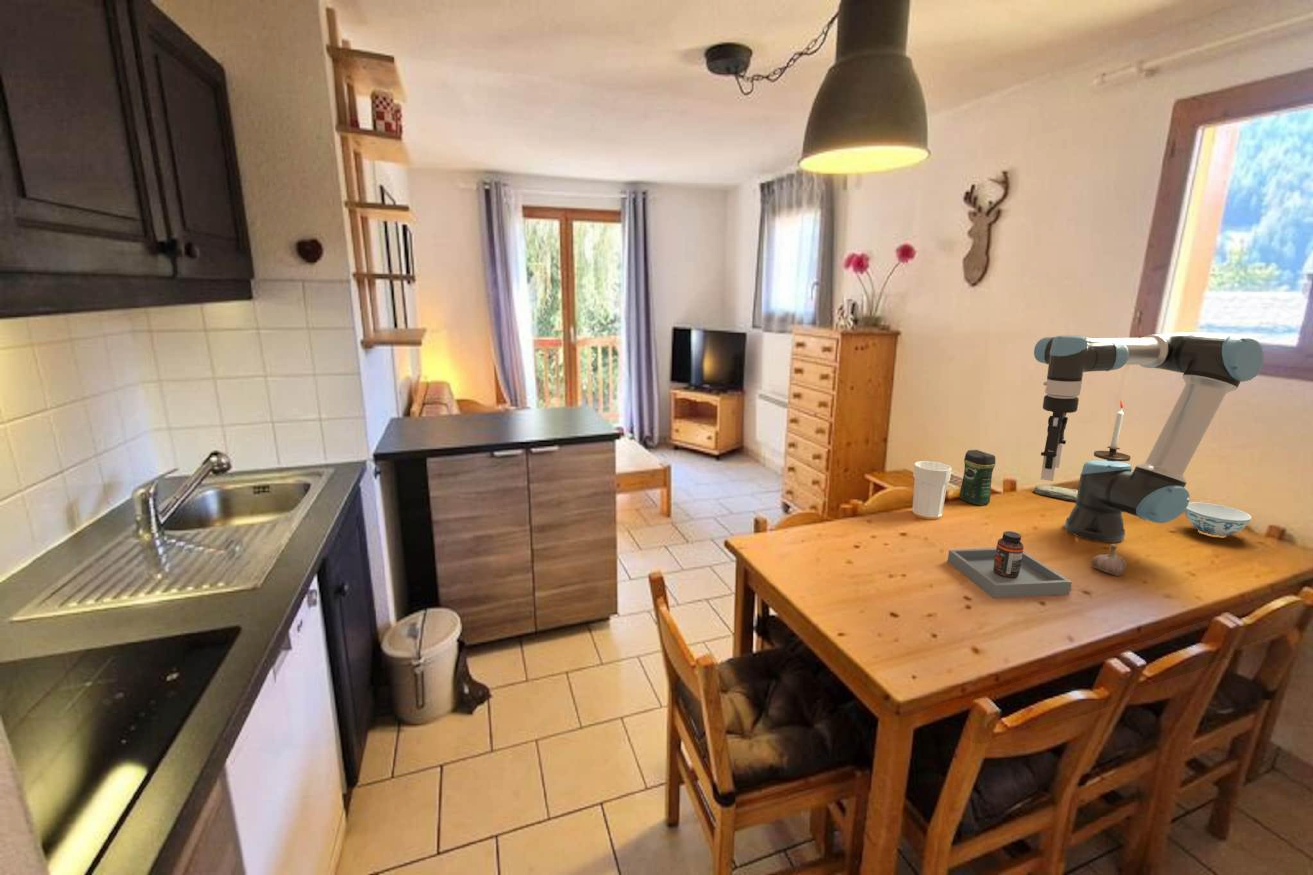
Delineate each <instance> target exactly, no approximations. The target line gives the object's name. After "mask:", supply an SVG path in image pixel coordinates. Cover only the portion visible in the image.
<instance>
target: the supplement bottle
mask: <svg viewBox="0 0 1313 875" xmlns="http://www.w3.org/2000/svg"><path fill="white" fill-rule="evenodd" d="M1021 540H1022V535H1021V534H1020V533H1018V532H1016V531H1010V530H1005V531H1004V532H1003V534H1002V537H1001V538H999V539H998V540H997V543H996V544H997V545H996V548H997V549H996V555H995V561H994V568H993V570H994V572H995V573H997V574H998V575H1000V576H1004V577H1008V578H1014V577H1017V576H1018V575H1019V572H1020V566H1021V560H1022V555H1023V552H1024V549H1025V548H1024V544H1023V543H1022V541H1021Z"/></svg>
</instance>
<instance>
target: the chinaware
mask: <svg viewBox="0 0 1313 875" xmlns="http://www.w3.org/2000/svg"><path fill="white" fill-rule="evenodd" d="M1184 514H1185V516H1186V519H1187V521H1188V522H1189V523H1190V524H1191V525H1192V526H1193V527H1194V529H1198V530H1199V531H1201V532H1203V533H1208V534H1211V535H1219V536H1225V535H1227V536H1229V535H1234V534H1237V533H1238V532H1240V531H1242V530H1243V529H1244V528H1246V527H1247V526H1248V525H1249V523H1250V522H1251V519H1252V516H1251V515H1250V514H1248V513H1247V512H1245V511H1242V510H1240V509H1237V508H1233V507H1230V506H1226V505H1221V504H1216V503H1215V504H1214V503H1208V502H1189V504H1188V506H1187V508H1186V509H1185V511H1184Z"/></svg>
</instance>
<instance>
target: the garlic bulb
mask: <svg viewBox="0 0 1313 875" xmlns="http://www.w3.org/2000/svg"><path fill="white" fill-rule="evenodd" d="M1116 550H1117V545H1115V544H1113V543H1112V544H1111V546H1110V549H1109V553H1107V554H1097V555H1095V556H1094V557H1093V558H1092V559H1091V561H1090V563H1091V565H1092V566H1093V568H1095V569H1097V570H1098V571H1102V572H1104V573H1106V574H1110V575H1112V576H1115V577H1120V576H1121V575H1123V574H1124V570H1125V568H1126V567H1127V566H1126V560H1125V559H1124V558H1123V557H1121V556H1120V555H1117V553H1116Z"/></svg>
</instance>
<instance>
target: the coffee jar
mask: <svg viewBox="0 0 1313 875" xmlns="http://www.w3.org/2000/svg"><path fill="white" fill-rule="evenodd" d="M963 461H964V463H963V464H964V471H963V477H962V480H961V481H962V482H961V486H960V490H959V498H960V500H962V501H965V502H967V503H968V504H969V503H970V504H973V505H978V506H979V505H980V506H985V505H988V504H990V502H991V493H992V492H991V491H992V479H993V478H992V477H993V471H994V469H995V466H996V456H995V454H991V453H987V452H985V451H981V450H978V449H969V450H967V451H966V453H965V456H964V460H963Z"/></svg>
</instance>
